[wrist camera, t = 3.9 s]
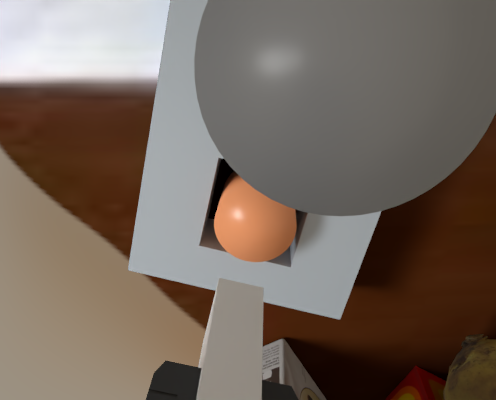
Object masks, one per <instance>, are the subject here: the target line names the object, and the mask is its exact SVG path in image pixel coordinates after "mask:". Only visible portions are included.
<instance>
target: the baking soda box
mask: <svg viewBox="0 0 496 400" xmlns="http://www.w3.org/2000/svg"><path fill="white" fill-rule="evenodd" d="M445 385H446V381H445V380H443V379H441V378H439V377H437V376H435V375H433V374H431V373H429V372H427V371H425V370H423V369H421V368H419V367H417V366H415V367H414V368H413V369H412V370H411V371H410V373H409V374H408V375H407V376H406V377H405V378H404V379H403V380H402V381H401V382H400V384H399V385H398V386H397V387H396V388H395V389H394V390H393V391H392V392H391V394H390V395H389V396H388V397H387V398H386V399H385V400H444V399H443V390H444V389H445Z"/></svg>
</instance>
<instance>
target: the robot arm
mask: <svg viewBox="0 0 496 400" xmlns="http://www.w3.org/2000/svg"><path fill="white" fill-rule="evenodd" d="M262 347H263V287H258V286H254V285H249V284H245V283H240V282H236V281H231V280H227V279H222V278H219V280H218V284H217V288H216V292H215V296H214V300H213V304H212V308H211V312H210V316H209V320H208V324H207V328H206V332H205V337H204V341H203V345H202V351H201V356H200V361H199V366H198V367H193V366H189V365H184V364H179V363H175V362H170V361H165V362H164V363H163V364H162V365H161V366H160V367H159V368H158V369H157V370H156V371H155V373H154V375H153V378H152V382H151V385H150V388H149V392H148V394H147V398H146V400H298V398H297V396H296V394H295V392H294V390H293V388H292V386H289V385H284V384H279V383H275V382H270V381H265V380H262Z"/></svg>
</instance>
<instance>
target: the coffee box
mask: <svg viewBox="0 0 496 400" xmlns="http://www.w3.org/2000/svg"><path fill="white" fill-rule="evenodd" d="M262 380H265V381H270V382H275V383H279V384H284V385H289V386H292V388H293V390H294V392H295V394H296V396H297V398H298V400H327V399H326V398H325V397H324V395H323V394H322V392H321V391H320V390H319V388H318V387H317V385H316V384H315V382H314V381H313V380H312V378H311V377H310V375H309V374H308V372H307V371H306V369H305V368H304V367H303V365H302V364H301V362H300V361H299V359H298V358H297V357H296V355H295V354H294V352H293V351H292V349H291V348H290V346H289V345H288V343H287V342H286V341H285V339H280V340H277V341H275V342H273V343H270V344H268V345H266V346H263V347H262Z"/></svg>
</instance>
